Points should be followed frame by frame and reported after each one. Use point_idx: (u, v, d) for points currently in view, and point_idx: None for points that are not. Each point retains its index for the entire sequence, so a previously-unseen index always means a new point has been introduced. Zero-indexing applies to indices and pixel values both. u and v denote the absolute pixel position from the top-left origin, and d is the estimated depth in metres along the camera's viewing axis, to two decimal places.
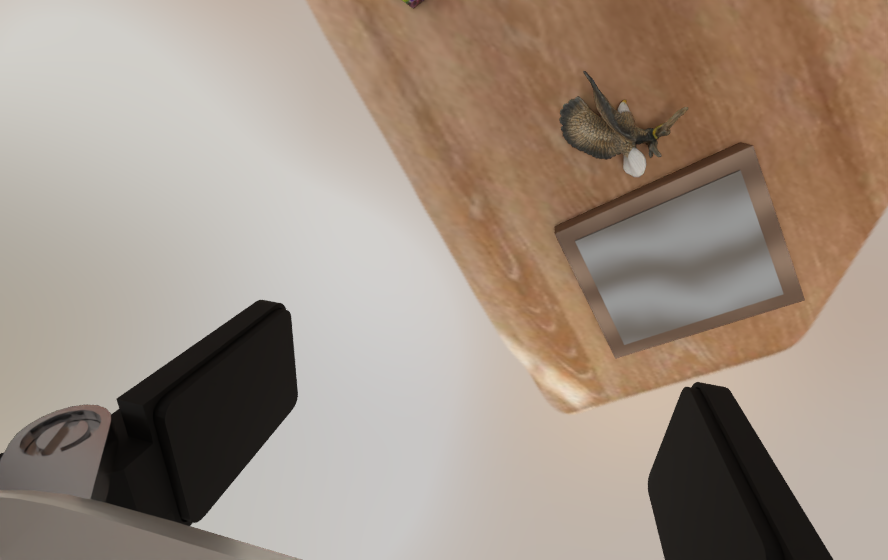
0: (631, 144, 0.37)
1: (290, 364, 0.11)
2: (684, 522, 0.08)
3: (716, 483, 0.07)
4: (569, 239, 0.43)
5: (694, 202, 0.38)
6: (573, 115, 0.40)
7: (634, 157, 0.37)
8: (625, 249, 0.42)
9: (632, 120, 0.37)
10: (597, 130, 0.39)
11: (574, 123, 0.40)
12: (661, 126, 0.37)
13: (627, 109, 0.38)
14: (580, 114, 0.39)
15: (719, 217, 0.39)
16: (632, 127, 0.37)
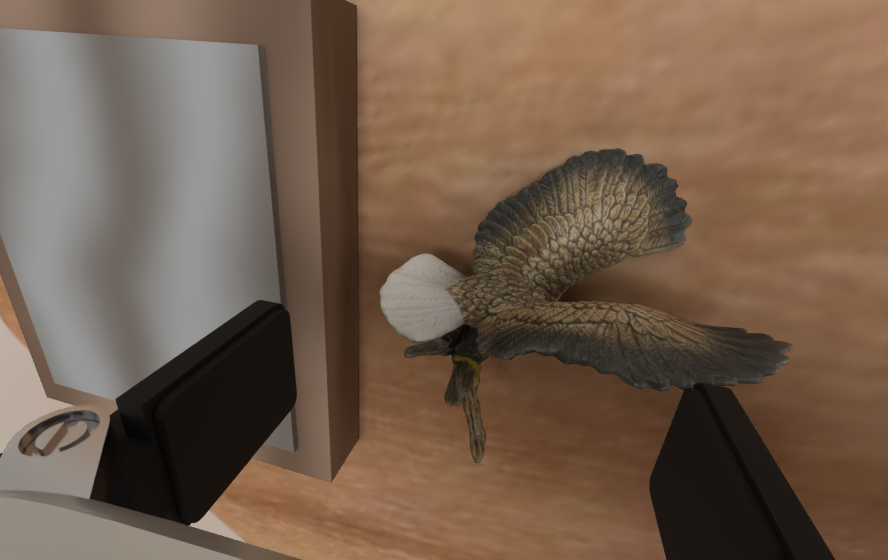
0: (475, 320, 0.12)
1: (289, 364, 0.11)
2: (686, 523, 0.08)
3: (719, 484, 0.07)
4: (273, 28, 0.12)
5: None
6: (652, 208, 0.13)
7: (436, 310, 0.12)
8: (194, 178, 0.14)
9: None
10: (570, 253, 0.12)
11: (630, 201, 0.12)
12: (474, 383, 0.14)
13: None
14: (641, 232, 0.13)
15: None
16: None
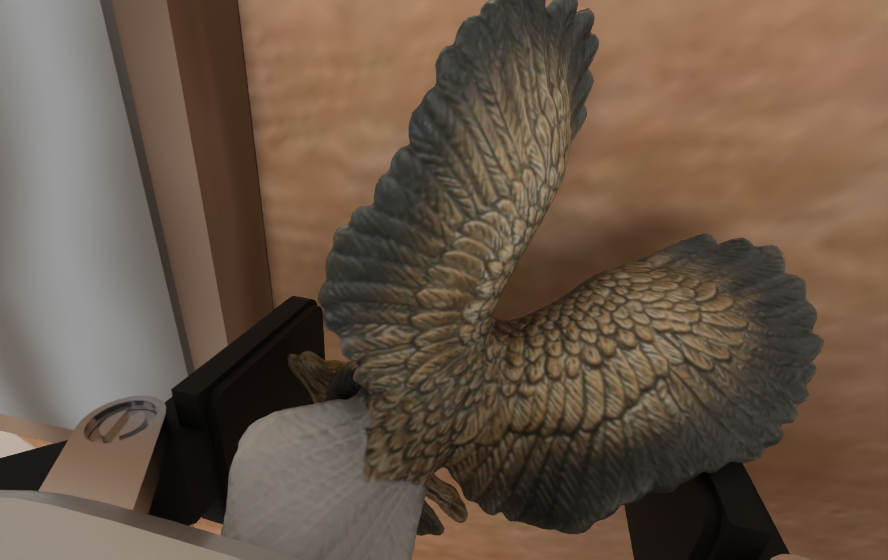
0: (439, 467, 0.06)
1: None
2: None
3: None
4: None
5: (159, 369, 0.14)
6: None
7: (377, 523, 0.06)
8: (50, 156, 0.12)
9: None
10: (515, 260, 0.07)
11: (560, 111, 0.06)
12: None
13: None
14: None
15: (112, 389, 0.15)
16: None
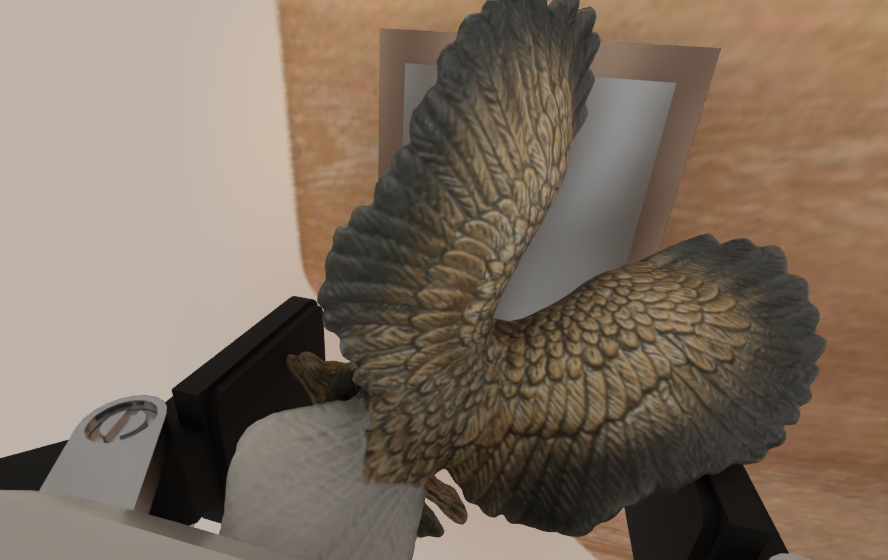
0: (439, 469, 0.06)
1: None
2: None
3: None
4: (685, 73, 0.19)
5: None
6: None
7: (377, 526, 0.06)
8: (593, 164, 0.21)
9: None
10: (516, 259, 0.06)
11: (562, 109, 0.06)
12: None
13: None
14: (569, 147, 0.07)
15: None
16: None
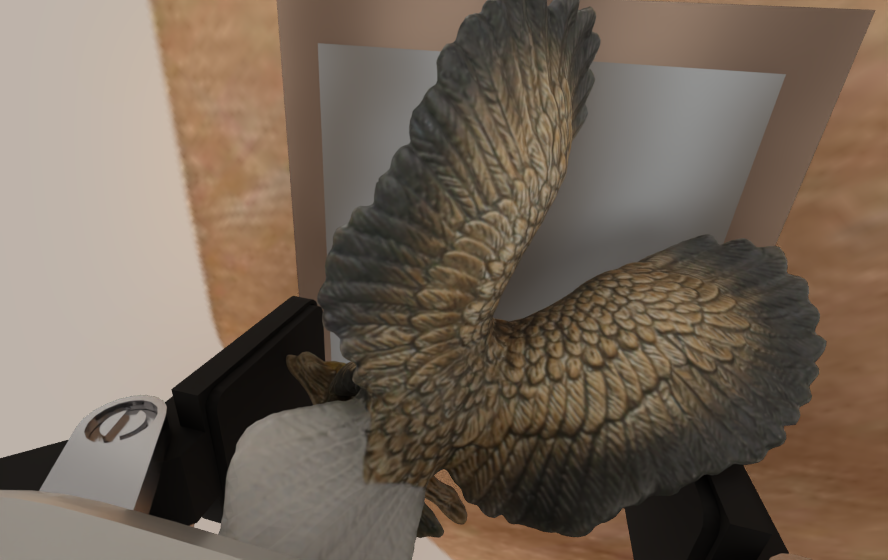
0: (439, 469, 0.06)
1: (321, 359, 0.11)
2: None
3: None
4: (801, 56, 0.11)
5: None
6: None
7: (376, 527, 0.06)
8: (629, 211, 0.13)
9: None
10: (516, 260, 0.06)
11: (562, 109, 0.06)
12: None
13: None
14: None
15: None
16: None
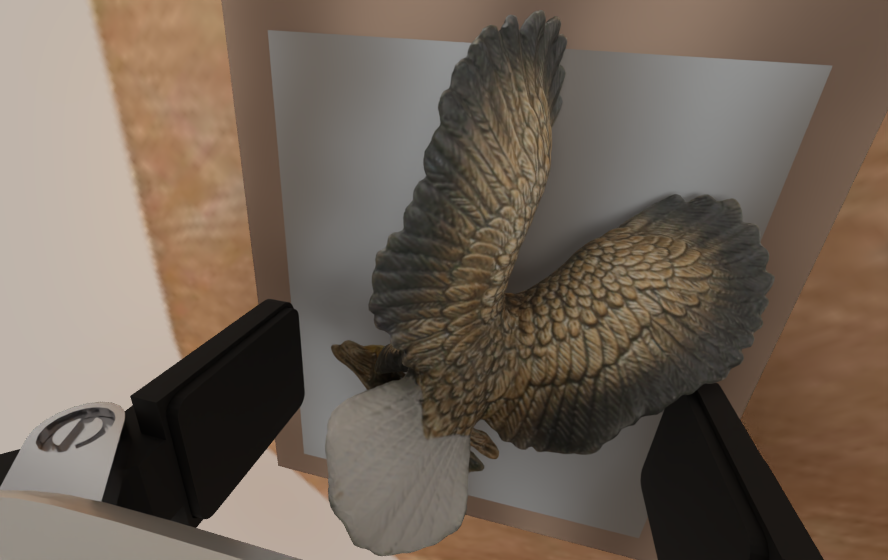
0: (478, 420, 0.08)
1: (297, 362, 0.11)
2: (674, 514, 0.08)
3: (704, 475, 0.07)
4: (851, 44, 0.09)
5: (637, 446, 0.13)
6: (545, 96, 0.08)
7: (439, 469, 0.08)
8: None
9: None
10: (518, 248, 0.08)
11: (541, 118, 0.08)
12: None
13: None
14: (550, 142, 0.08)
15: (556, 460, 0.14)
16: None
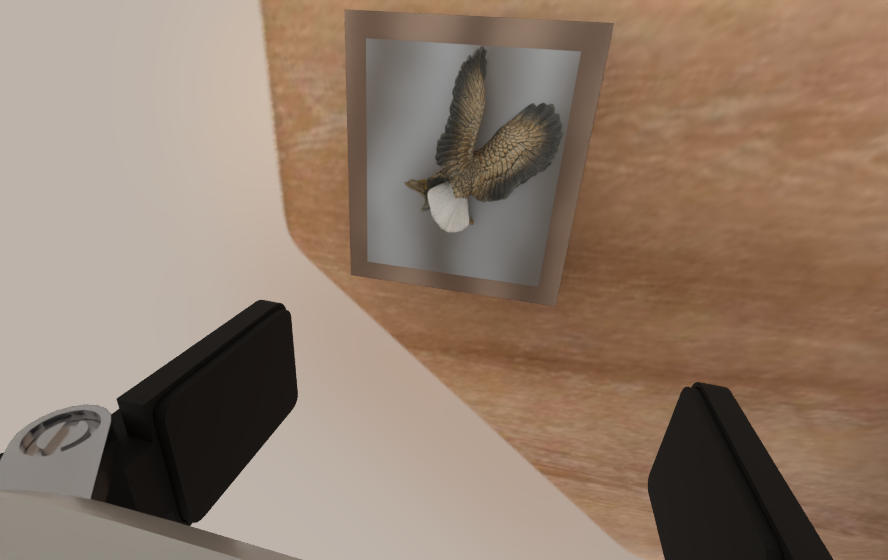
0: (469, 194, 0.25)
1: (290, 364, 0.11)
2: (684, 522, 0.08)
3: (716, 483, 0.07)
4: (588, 43, 0.24)
5: (532, 231, 0.29)
6: (480, 75, 0.23)
7: (460, 208, 0.24)
8: None
9: None
10: None
11: (480, 87, 0.23)
12: None
13: None
14: (484, 92, 0.24)
15: (496, 245, 0.30)
16: None
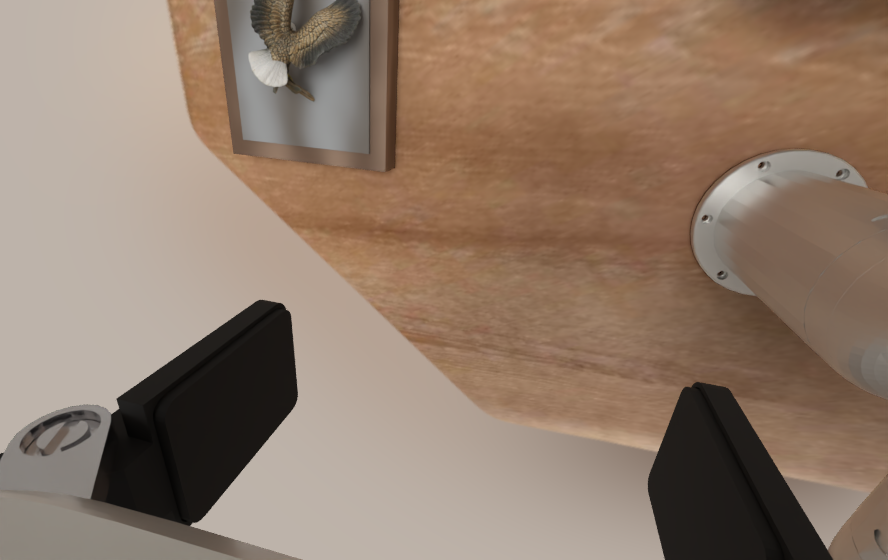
0: (288, 61, 0.33)
1: (290, 364, 0.11)
2: (684, 522, 0.08)
3: (716, 483, 0.07)
4: None
5: (357, 105, 0.37)
6: None
7: (278, 69, 0.33)
8: None
9: None
10: (288, 11, 0.32)
11: None
12: (292, 80, 0.36)
13: None
14: None
15: (334, 119, 0.38)
16: None
